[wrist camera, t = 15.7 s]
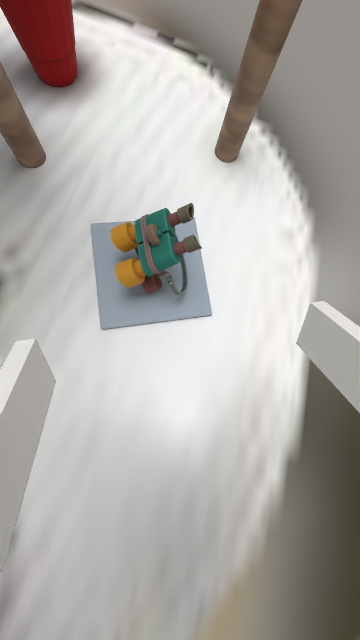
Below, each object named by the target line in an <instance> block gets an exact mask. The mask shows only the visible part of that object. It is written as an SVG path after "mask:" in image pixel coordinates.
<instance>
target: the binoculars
mask: <svg viewBox="0 0 360 640" xmlns="http://www.w3.org/2000/svg"><path fill="white" fill-rule="evenodd" d="M193 215H194V207H193V204H192V203H190V204H188V205H186V206H183V207H181V208H179V209H178V210H177V212H175V213H173V214H171V213H170V212H169V210H168V209H167V208H164V209H161V210H159V211H157V212H154V213H152V214H150V215H148V214H147V215H145V216H143V217H141V218H140V219H138V220H136V221H135V225H132V224H131V223H130V222H126V223H123V224H121V225H118V226H116V227H113V228H112V229H111V231H110V237H111V240H112V242H113V244H114V245H115V246H116V248H118V249H119V250H120V251H122V252H129V251H131V250H132V249H135V251H136V253H137V256H138V257H139V260H138V259H137V258H132V259H129V260H126V261H123V262H120V263H118V264H117V265H116V267H115V273H116V276H117V279H118V280H119V282H120V283H121V284H122V285H124V286H125V287H128V288H131V287H134V286H136V285H138V284H141V286H142V288H143V290H144V291H145V292H146V293H147V294H151V293H153V292H156V291H158V290H160V289H161V288H162V281H164V280H165V282H167V283H168V286H170V288H171V290H172V292H173V293H174V294H175V295H179V294H182V293H184V292H185V291H186V289H187V285H188V277H187V268H186V263H185V258H184V254H183V253H186V252H188V253H191V252H193V251H196V250H198V249H201V248H202V247H201V246H200V245H199V243H198V241H197V239H196V237H195V235H191V236H188V237H186V238H184V239H183V241H181V242H179V239H178V237H177V235H176V233H175V226H176V225H178V224H180V223H183V224H185V223H187V222H189V221H191V220H193ZM178 263H181V268H182V276H183V286H182V289H181V291H179V290H178V289H177V287H176V286H175V283H174V281H173V279H172V277H173V276H172V275H171V274H170V273H168V272H166V271H163V270H165V269H167V268H169V267H172V266H174V265H176V264H178ZM166 274H169V275H170V276H167V277H164V279H162V278H161V277H162V276H164V275H166Z"/></svg>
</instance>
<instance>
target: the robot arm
mask: <svg viewBox="0 0 360 640" xmlns="http://www.w3.org/2000/svg"><path fill="white" fill-rule="evenodd" d="M296 344H297V345H298V346H299V347H300V348H301V349H302V350H303V351H304V353H305V354H306V355H307V356H308V357H309V358H310V359H311V360H312V361H313V362H314V363H315V365H316V366H317V367H318V368H319V369H320V370H321V371H322V372H323V373H324V374H325V375H326V376H327V378H328V379H329V380H330V381H331V382H332V383H333V384H334V385H335V386H336V387H337V389H338V390H339V391H340V392H341V393H342V394H343V395H344V396H345V397H346V398H347V399H348V401H349V402H350V403H351V404H352V405H353V406H354V407H355V408H356V409H357V410H358V411H359V413H360V327H359V326H357V325H356V324H355V323H353V322H352V321H350V320H349V319H348V318H346V317H345V316H343V315H342V314H341V313H340V312H338V311H337V310H335V309H334V308H333V307H331V306H330V305H329V304H327V303H326V302H325V301H320V302H312V303H310V306H309V309H308V312H307V314H306V317H305V320H304V323H303V326H302V329H301V331H300V334H299V337H298V340H297V343H296ZM55 383H56V380H55V378H54V376H53V374H52V372H51V370H50V368H49V366H48V364H47V361H46V359H45V357H44V355H43V353H42V351H41V349H40V347H39V345H38V343H37V340H36V338H34V339H27V340H19V341H16V342H15V344H14V345H13V347H12V349H11V351H10V353H9V354H8V356H7V358H6V360H5V362H4V363H3V365H2V367H1V369H0V571H3V568H4V564H5V561H6V557H7V554H8V550H9V547H10V543H11V539H12V536H13V532H14V529H15V525H16V522H17V518H18V515H19V511H20V507H21V504H22V500H23V497H24V493H25V490H26V486H27V483H28V479H29V475H30V472H31V468H32V465H33V461H34V458H35V454H36V451H37V447H38V443H39V440H40V436H41V433H42V429H43V426H44V422H45V418H46V415H47V411H48V408H49V404H50V401H51V397H52V394H53V390H54V386H55Z"/></svg>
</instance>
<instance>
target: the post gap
mask: <svg viewBox="0 0 360 640" xmlns="http://www.w3.org/2000/svg"><path fill="white" fill-rule="evenodd" d="M301 2H302V0H260V2H259V5H258V8H257V11H256V15H255V18H254V21H253V25H252V28H251V32H250V35H249V38H248V41H247V45H246V48H245V51H244V55H243V58H242V62H241V65H240V68H239V71H238V75H237V78H236V81H235V85H234V88H233V91H232V94H231V98H230V101H229V104H228V108H227V111H226V114H225V118H224V121H223V124H222V128H221V131H220V134H219V138H218V141H217V144H216V148H215V154H216V156H217V157H218V158H219V159H220V160H221V161H224V162H232V161H234V160H235V159H236V158H237V156H238V153H239V151H240V148H241V146H242V144H243V141H244V139H245V136H246V134H247V132H248V129H249V127H250V124H251V122H252V120H253V117H254V115H255V112H256V110H257V107H258V105H259V103H260V100H261V98H262V96H263V93H264V91H265V89H266V86H267V84H268V81H269V79H270V77H271V74H272V72H273V69H274V67H275V64H276V62H277V60H278V57H279V55H280V53H281V50H282V48H283V45H284V43H285V40H286V38H287V36H288V33H289V31H290V28H291V26H292V24H293V21H294V19H295V16H296V14H297V12H298V9H299V7H300V5H301ZM0 133H1V134H2V136H3V137H4V139H5V140H6V142H7V144H8V145H9V147H10V148H11V150H12V151H13V153H14V155H15V156H16V158H17V159H18V161H19V162H20V163H21V164H22V165H23V166H25V167H28V168H36V167H39V166H41V165H42V164H43V163H44V161H45V159H46V155H45V152H44V150H43V148H42V146H41V144H40V142H39V140H38V138H37V136H36V134H35V132H34V130H33V128H32V126H31V124H30V122H29V120H28V118H27V116H26V114H25V112H24V109H23V107H22V105H21V103H20V101H19V99H18V97H17V95H16V93H15V91H14V89H13V87H12V85H11V83H10V81H9V79H8V77H7V75H6V73H5V71H4V69H3V67H2V65H1V63H0Z"/></svg>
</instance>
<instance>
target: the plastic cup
mask: <svg viewBox="0 0 360 640" xmlns="http://www.w3.org/2000/svg"><path fill="white" fill-rule="evenodd" d="M0 7H1V9H2V11H3V13H4V15H5V17H6V18H7V20H8V22H9V24H10V26H11V28H12V30H13V32H14V34H15V36H16V37H17V39H18V41H19V43H20V45H21V47H22V49H23V50H24V51H25V53H26V55H27V57H28V59H29V61H30V62H31V64H32V66H33V68H34V70H35V72H36V73H37V74H38V76H39V78H40V79H41V80H42V81H43V82H44V83H46V84H48V85H50V86H56V87H62V86H67V85H69V84H71V83H73V81H74V80H75V79H76V76H77V61H76V52H75V35H74V25H73V14H72V3H71V0H0Z"/></svg>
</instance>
